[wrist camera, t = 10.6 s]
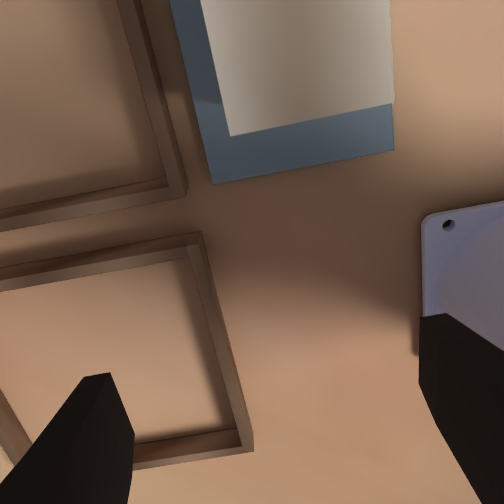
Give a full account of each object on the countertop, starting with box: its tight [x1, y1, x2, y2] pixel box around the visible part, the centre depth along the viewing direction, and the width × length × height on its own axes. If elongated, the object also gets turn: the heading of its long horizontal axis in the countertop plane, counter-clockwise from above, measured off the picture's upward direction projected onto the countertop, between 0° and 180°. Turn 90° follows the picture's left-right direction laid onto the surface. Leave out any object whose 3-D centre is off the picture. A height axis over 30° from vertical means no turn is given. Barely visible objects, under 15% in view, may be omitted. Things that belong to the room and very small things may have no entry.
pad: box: [169, 0, 394, 185], centre depth 16 cm, size 7×10×1 cm
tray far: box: [0, 231, 254, 471], centre depth 22 cm, size 12×12×1 cm
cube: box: [200, 0, 395, 136], centre depth 14 cm, size 4×4×4 cm
